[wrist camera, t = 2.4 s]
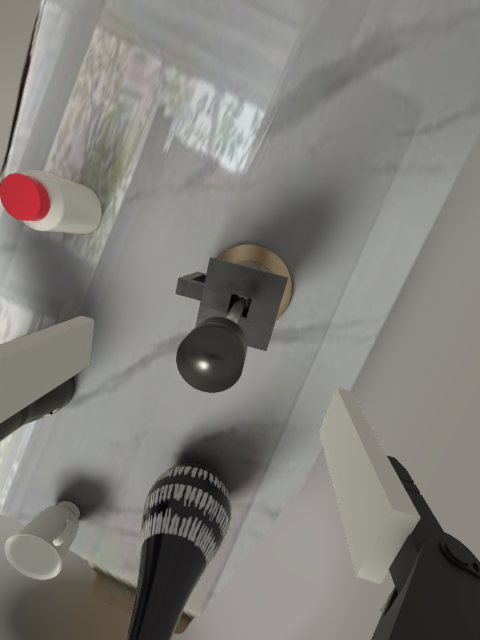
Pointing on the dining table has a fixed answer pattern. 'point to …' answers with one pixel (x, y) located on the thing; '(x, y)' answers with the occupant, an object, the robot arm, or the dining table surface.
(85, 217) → the pill bottle
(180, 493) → the vase
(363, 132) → the dining table surface
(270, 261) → the ring
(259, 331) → the french press
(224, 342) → the plunger
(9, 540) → the teacup
